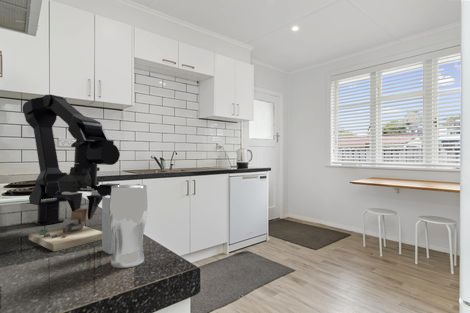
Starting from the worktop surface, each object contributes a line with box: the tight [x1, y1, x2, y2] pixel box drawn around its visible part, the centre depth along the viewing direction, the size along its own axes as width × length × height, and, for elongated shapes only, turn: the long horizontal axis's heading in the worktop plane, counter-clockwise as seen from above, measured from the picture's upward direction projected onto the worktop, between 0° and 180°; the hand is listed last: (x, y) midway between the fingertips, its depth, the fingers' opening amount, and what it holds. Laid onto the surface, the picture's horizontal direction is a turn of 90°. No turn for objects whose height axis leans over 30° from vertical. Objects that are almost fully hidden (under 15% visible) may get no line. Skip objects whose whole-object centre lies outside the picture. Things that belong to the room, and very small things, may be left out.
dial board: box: [27, 225, 102, 252], centre depth 65 cm, size 14×12×2 cm
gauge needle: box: [63, 207, 89, 233], centre depth 69 cm, size 13×4×4 cm, turn 11°
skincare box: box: [101, 195, 114, 255], centre depth 58 cm, size 6×4×12 cm
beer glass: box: [109, 184, 148, 269], centre depth 51 cm, size 7×7×15 cm
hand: (83, 219), depth 73 cm, fingers open, 3 cm apart
